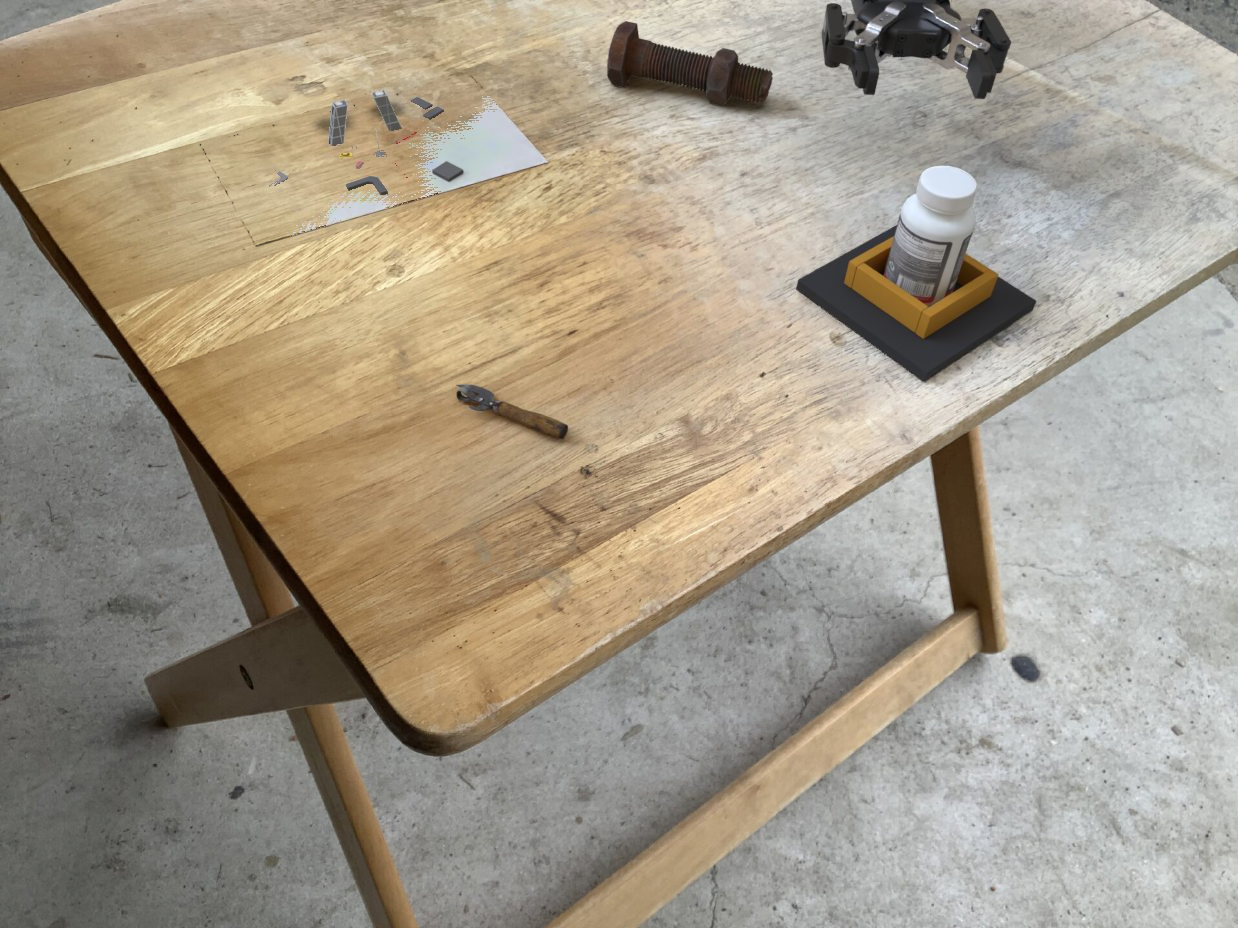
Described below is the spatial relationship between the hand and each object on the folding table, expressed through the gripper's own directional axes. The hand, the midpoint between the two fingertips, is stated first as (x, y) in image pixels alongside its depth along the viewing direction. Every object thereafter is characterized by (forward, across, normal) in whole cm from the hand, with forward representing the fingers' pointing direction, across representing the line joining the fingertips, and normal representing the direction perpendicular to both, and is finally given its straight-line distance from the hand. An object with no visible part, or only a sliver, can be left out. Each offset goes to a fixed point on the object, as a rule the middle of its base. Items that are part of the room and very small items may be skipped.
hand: (928, 86), depth 83 cm
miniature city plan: (-7, -45, +12) cm, 47 cm away
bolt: (-18, -17, +12) cm, 28 cm away
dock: (+11, 0, +12) cm, 16 cm away
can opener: (+24, -30, +12) cm, 41 cm away
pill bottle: (+11, 0, +11) cm, 15 cm away
